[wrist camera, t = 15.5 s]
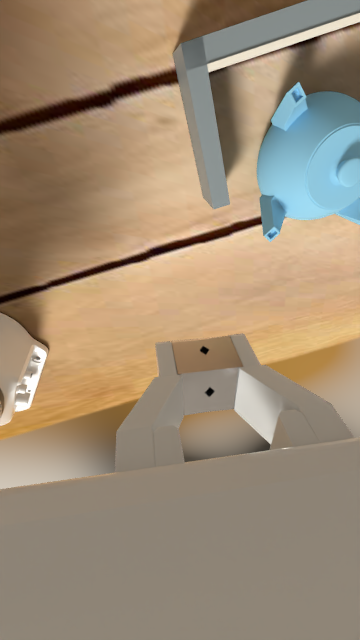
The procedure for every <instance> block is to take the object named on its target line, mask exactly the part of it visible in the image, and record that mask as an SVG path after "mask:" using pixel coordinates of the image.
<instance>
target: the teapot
mask: <svg viewBox="0 0 360 640" xmlns="http://www.w3.org/2000/svg"><path fill="white" fill-rule="evenodd" d="M271 122H272V126H271V127H270V128H269V130H268V132H267V134H266V136H265V138H264V140H263V142H262V145H261V148H260V151H259V155H258V161H257V180H258V185H259V188H260V192H261V194H262V196H261V197H260V207H261V217H262V226H263V235H264V236H265V237H266V238H267V239H268V240H269V241H270V242H271V241H272V240H273V239H274V238H275V237H276V236H277V235H278V234H280V229H281V226H282V223H283V220H284V217H285V216H286V217H289V218H293V219H298V220H312V219H319V218H323V217H326V216H329V215H332V214H336V215H339V216H341V217H343V218H345V219H348V220H350V221H352V222H354V223H356V224H359V225H360V102H359V101H357V100H356V99H354V98H352V97H350V96H348V95H346V94H342V93H339V92H332V91H324V92H316V93H312V94H309V95H307V96H306V95H305V93H304V91H303V89H302V87H301V85H300V83H299V82H297V83H296V84H295V85H294V86H293V87H292V88H291V89H290V90H289V91H288V92H287V93H286V95H285V96H284V98H283V100H282V101H281V103H280V105H279V107H278V108H277V110H276V112H275V113H274V115H273V117H272V119H271Z"/></svg>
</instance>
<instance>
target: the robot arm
mask: <svg viewBox="0 0 360 640" xmlns="http://www.w3.org/2000/svg"><path fill="white" fill-rule="evenodd" d="M48 352H49V351H48V348H47V347H46V346H45V345H43V344H42V343H40V342H38V341H37V340H35V339H33V338H32V337H31V336H30V335H29V333H28V332H27V331H26V330H25V329H24V328H23V327H22V326H21V325H20V324H19V323H18V322H16V321H15V320H14V319H12V318H10V317H8V316H7V315H5V314H2V313H0V426H1V425H4V424H7V423H9V422H10V421H11V420H12V418H13V415H14V413H15V412H18V411H22V410H25V409H28V408H30V406H31V404H32V401H33V399H34V395H35V392H36V389H37V386H38V383H39V380H40V377H41V374H42V371H43V368H44V365H45V362H46V358H47V355H48ZM37 356H38V357H37ZM156 357H157V370H158V377H155V378H154V379H153V381H152V382H151V384H150V385H149V386H148V388H147V389H146V391H145V392H144V394H143V395H142V396H141V398H140V399H139V401H138V402H137V404H136V405H135V406H134V408H133V409H132V411H131V412H130V414H129V415H128V416H127V418H126V419H125V420H124V422H123V423H122V425H121V426H120V427H119V429H118V430H117V436H116V437H117V438H116V460H115V473H109V474H103V475H96V476H89V477H82V478H75V479H68V480H61V481H54V482H47V483H41V484H34V485H27V486H20V487H13V488H6V489H0V640H360V437H358V438H355V437H354V436H353V435H352V433H351V432H350V431H349V429H348V427H347V426H346V424H345V423H344V422H343V420H342V419H341V417H340V416H339V414H338V413H337V411H336V410H335V409H334V407H333V406H332V404H331V403H329V402H327V401H326V400H324V399H322V398H320V397H319V396H317V395H315V394H314V393H312V392H310V391H309V390H307V389H305V388H304V387H302V386H300V385H298V384H297V383H295V382H293V381H291V380H290V379H288V378H287V377H285V376H283V375H282V374H280V373H278V372H277V371H274V370H273V369H271V368H270V367H268V366H266V365H261V364H260V362H259V361H258V359H257V357H256V355H255V353H254V351H253V349H252V348H251V346H250V344H249V342H248V340H247V338H246V336H245V335H244V334H235V335H228V336H222V337H212V338H203V339H190V340H177V341H171V342H170V341H167V342H156ZM228 409H234V410H235V411H236V412H237V413H238V414H239V415H240V416H241V417H242V418H243V419H244V420H245V421H246V422H247V423H248V424H250V425H251V426H252V427H253V428H254V429H255V430H256V431H257V432H258V433H259V434H260V435H261V436H262V437H263V438H265V439H266V440H267V441H268V442H269V443H270V444H271V447H270V450H269V451H262V452H255V453H248V454H241V455H234V456H227V457H220V458H213V459H206V460H199V461H193V462H186V463H185V462H184V457H183V451H182V445H181V439H180V433H179V429H178V428H179V426H180V423H181V421H182V419H183V415H189V414H195V413H202V412H207V411H218V410H228Z"/></svg>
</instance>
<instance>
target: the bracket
mask: <svg viewBox="0 0 360 640" xmlns="http://www.w3.org/2000/svg"><path fill="white" fill-rule="evenodd" d="M358 22H360V0H307V1H304V2H301V3H298V4H295V5H292V6H289V7H286V8H284V9H281V10H278V11H275V12H272V13H269V14H266V15H263V16H260V17H257V18H254V19H251V20H248V21H245V22H242V23H239V24H236V25H233V26H230V27H228V28H225V29H222V30H219V31H216V32H213V33H210V34H207V35H204V36H201V37H198V38H195V39H192V40H189V41H186V42H183V43H181V44H180V45H179V46H178V47H177V49H176V50H175V51H174V52H173V58H174V63H175V67H176V72H177V77H178V81H179V86H180V91H181V96H182V100H183V105H184V110H185V114H186V119H187V124H188V128H189V133H190V138H191V142H192V147H193V152H194V156H195V161H196V166H197V171H198V175H199V180H200V185H201V189H202V194H203V198H204V199H205V200H206V201H207V202H208V203H209V205H210V206H211V207H212V208H213V209H216V208H220V207H223V206H226V205H229V204H230V201H229V195H228V189H227V183H226V176H225V170H224V164H223V158H222V152H221V146H220V140H219V134H218V128H217V122H216V116H215V110H214V104H213V98H212V92H211V85H210V79H209V73H208V72H211V71H214V70H217V69H220V68H223V67H226V66H229V65H232V64H235V63H238V62H241V61H244V60H247V59H250V58H253V57H256V56H259V55H262V54H265V53H268V52H271V51H274V50H277V49H280V48H283V47H286V46H289V45H292V44H295V43H298V42H301V41H304V40H307V39H310V38H313V37H316V36H319V35H322V34H325V33H328V32H331V31H334V30H337V29H340V28H343V27H346V26H349V25H352V24H355V23H358Z"/></svg>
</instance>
